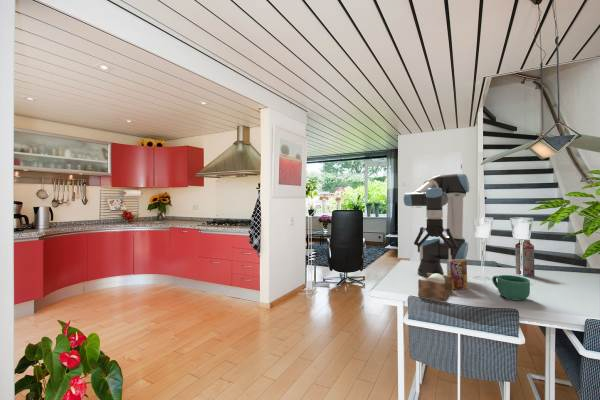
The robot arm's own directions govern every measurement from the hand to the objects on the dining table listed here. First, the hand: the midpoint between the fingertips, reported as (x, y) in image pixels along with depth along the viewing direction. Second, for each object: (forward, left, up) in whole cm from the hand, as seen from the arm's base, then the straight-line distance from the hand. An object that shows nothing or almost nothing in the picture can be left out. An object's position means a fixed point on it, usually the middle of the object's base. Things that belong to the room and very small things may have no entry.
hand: (435, 260), depth 148 cm
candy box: (-17, +7, -17) cm, 25 cm away
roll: (0, 0, -16) cm, 16 cm away
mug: (-16, +30, -17) cm, 38 cm away
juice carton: (-73, +36, -17) cm, 83 cm away
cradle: (0, 0, -17) cm, 17 cm away
